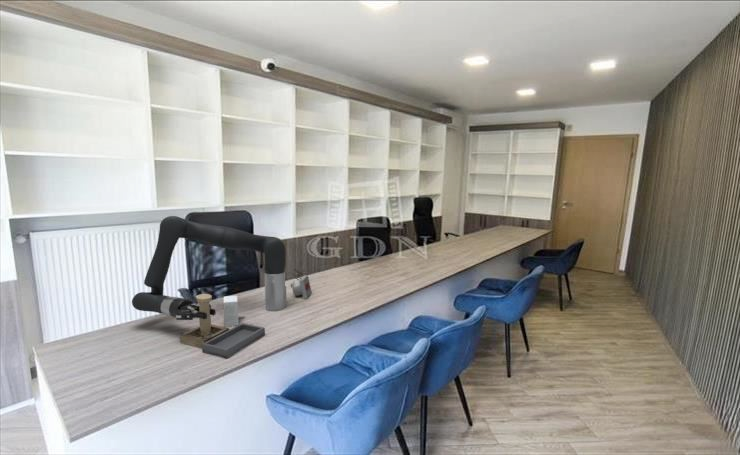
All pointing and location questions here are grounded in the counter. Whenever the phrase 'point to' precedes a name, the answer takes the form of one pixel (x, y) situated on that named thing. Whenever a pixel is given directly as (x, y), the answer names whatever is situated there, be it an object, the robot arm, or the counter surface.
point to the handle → (204, 307)
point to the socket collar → (193, 334)
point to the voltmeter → (301, 286)
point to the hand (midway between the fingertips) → (210, 314)
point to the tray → (233, 340)
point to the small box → (230, 310)
